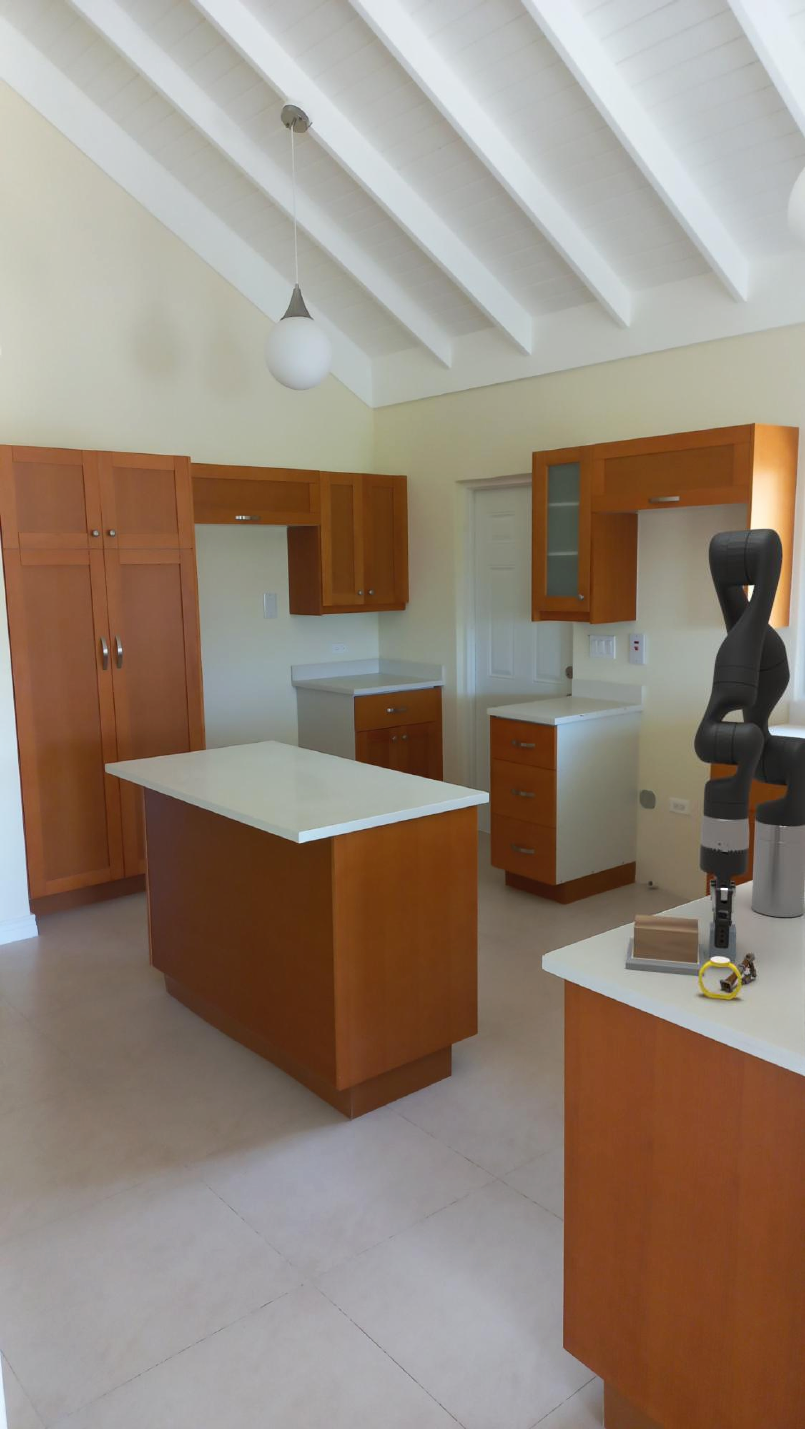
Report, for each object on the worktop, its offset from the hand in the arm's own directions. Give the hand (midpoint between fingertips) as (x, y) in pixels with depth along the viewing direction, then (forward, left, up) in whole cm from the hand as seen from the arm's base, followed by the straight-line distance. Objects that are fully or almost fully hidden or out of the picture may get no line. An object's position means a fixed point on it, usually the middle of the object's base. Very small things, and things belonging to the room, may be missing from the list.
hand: (720, 939), depth 165 cm
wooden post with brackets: (+12, +2, -3) cm, 13 cm away
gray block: (0, 0, -3) cm, 3 cm away
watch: (+18, -1, -3) cm, 18 cm away
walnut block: (+4, -9, -2) cm, 10 cm away
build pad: (+4, -9, -3) cm, 10 cm away
